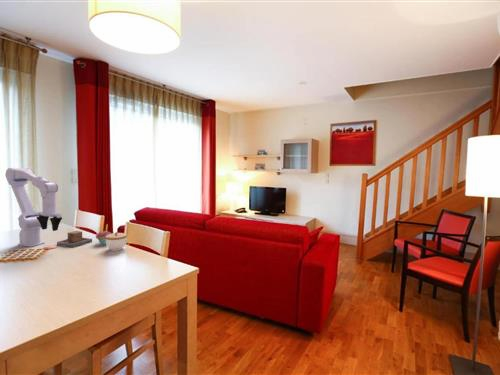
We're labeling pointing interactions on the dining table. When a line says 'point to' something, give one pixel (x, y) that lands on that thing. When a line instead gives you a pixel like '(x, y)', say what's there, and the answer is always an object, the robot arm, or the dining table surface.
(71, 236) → the walnut block
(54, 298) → the dining table surface
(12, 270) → the dining table surface
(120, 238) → the lidded jar
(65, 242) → the slate tray
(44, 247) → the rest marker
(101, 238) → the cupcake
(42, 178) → the robot arm
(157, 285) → the dining table surface
